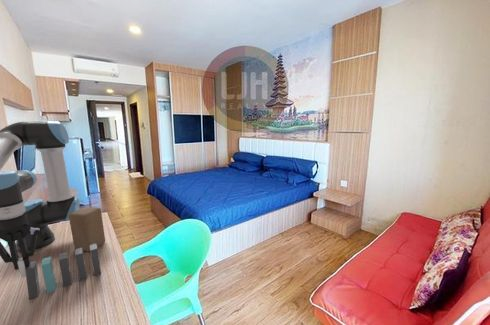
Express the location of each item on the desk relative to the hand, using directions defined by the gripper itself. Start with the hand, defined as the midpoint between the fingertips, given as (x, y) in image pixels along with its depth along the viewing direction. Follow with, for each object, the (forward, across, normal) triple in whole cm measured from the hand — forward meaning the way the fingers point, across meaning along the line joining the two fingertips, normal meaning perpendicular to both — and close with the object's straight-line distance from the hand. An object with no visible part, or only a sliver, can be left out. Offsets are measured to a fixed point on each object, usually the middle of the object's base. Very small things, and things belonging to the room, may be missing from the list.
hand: (24, 275), depth 80 cm
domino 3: (+9, +11, 0) cm, 14 cm away
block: (+9, +20, +26) cm, 34 cm away
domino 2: (+9, +6, 0) cm, 11 cm away
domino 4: (+9, +16, 0) cm, 19 cm away
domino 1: (+9, +1, 0) cm, 9 cm away
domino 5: (+9, +21, 0) cm, 23 cm away
